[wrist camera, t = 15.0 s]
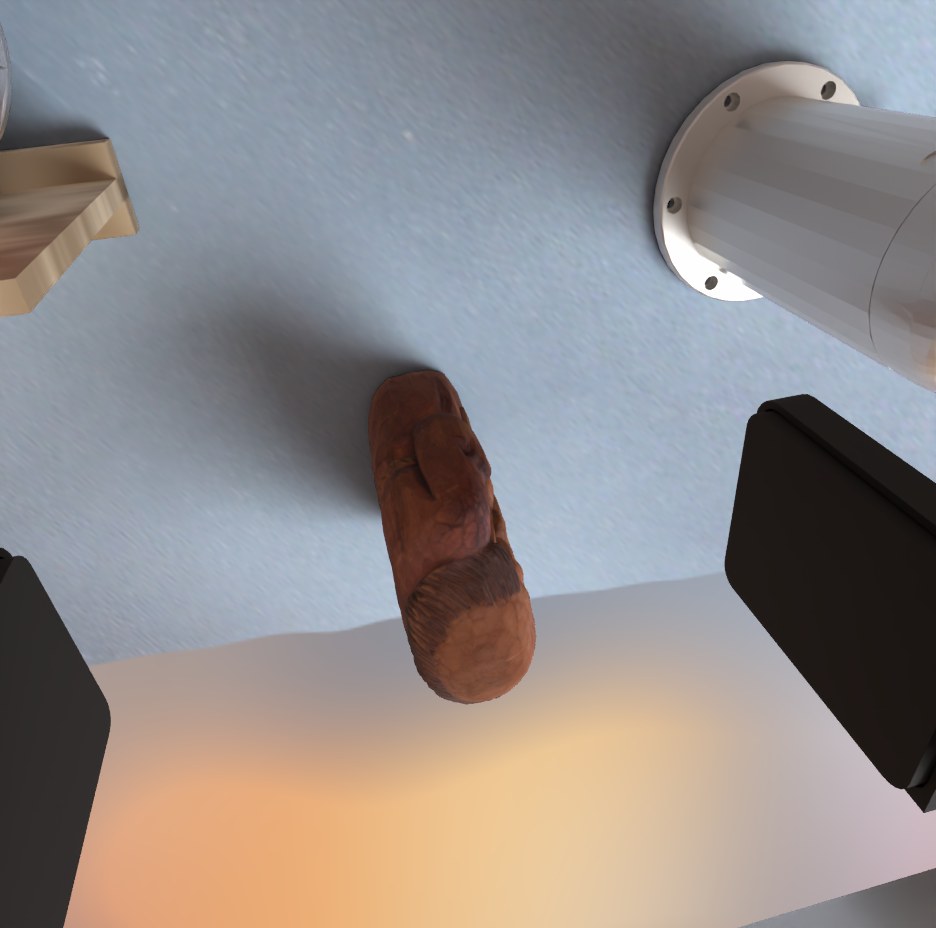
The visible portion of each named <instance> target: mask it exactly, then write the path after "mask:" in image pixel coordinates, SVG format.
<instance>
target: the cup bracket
mask: <svg viewBox="0 0 936 928" xmlns="http://www.w3.org/2000/svg"><path fill="white" fill-rule="evenodd" d="M11 93H12V80H11V64H10V59H9V54H8V49H7V43H6V39H5V36H4V33H3V29H2V26H1V23H0V141H1V138H2V136H3V134H4V131H5V129H6V125H7V121H8V116H9V112H10V106H11Z"/></svg>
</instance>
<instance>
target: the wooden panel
mask: <svg viewBox="0 0 936 928" xmlns="http://www.w3.org/2000/svg"><path fill="white" fill-rule="evenodd" d="M138 230H139V225H138V222H137V219H136V216H135V213H134V210H133V207H132V204H131V201H130V198H129V195H128V192H127V189H126V186H125V183H124V180H123V177H122V174H121V171H120V168H119V165H118V162H117V159H116V156H115V153H114V150H113V147H112V144H111V141H110V139H102V140H93V141H84V142H75V143H66V144H58V145H49V146H40V147H31V148H22V149H14V150H5V151H0V317H5V316H12V315H19V314H25V313H30V312H31V311H32V310H33V309H34V308H35V306H36V305H37V304H38V303H39V302H40V301H41V299H42V298H43V297H44V296H45V295H46V293H47V292H48V291H49V290H50V289H51V288H52V286H53V285H54V284H55V283H56V282H57V280H58V279H59V278H60V277H61V276H62V274H63V273H64V272H65V271H66V270H67V269H68V267H69V266H70V265H71V264H72V263H73V261H74V260H75V259H76V258H77V257H78V256H79V254H80V253H81V252H82V251H83V250H84V248H85V247H86V246H87V245H88V244H89V243H90V241H91V240H98V239H106V238H113V237H121V236H128V235H135V234H136V233H137V231H138Z"/></svg>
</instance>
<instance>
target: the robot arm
mask: <svg viewBox="0 0 936 928" xmlns="http://www.w3.org/2000/svg"><path fill="white" fill-rule="evenodd" d="M726 97H727V101H726V103H725V104H724V102H725V99H726ZM670 199H671V202H670V204H669V205H668V206H667V204H668V202H669V200H670ZM653 213H654V228H655V234H656V237H657V241H658V245H659V249H660V251H661V253H662V255H663V257H664V259H665V261H666V263H667V265H668V267H669V268H670V269H671V270H672V271H673V272H674V274H675V275H676V276H677V277H678V278H679V279H680V280H681V281H683V282H684V283H685V284H687V285H688V286H689V287H691V288H692V289H694V290H695V291H697V292H699V293H700V294H702V295H704V296H707V297H710V298H714V299H718V300H721V301H746V300H752V299H758V298H761V297H765V298H766V299H768V300H770V301H771V302H773V303H775V304H777V305H778V306H780V307H782V308H784V309H785V310H787V311H789V312H791V313H792V314H794V315H796V316H797V317H799V318H801V319H803V320H804V321H806V322H808V323H810V324H811V325H813V326H815V327H817V328H818V329H820V330H822V331H823V332H825V333H827V334H829V335H830V336H832V337H834V338H836V339H837V340H839V341H841V342H843V343H844V344H846V345H848V346H849V347H851V348H853V349H855V350H856V351H858V352H860V353H862V354H863V355H865V356H867V357H868V358H870V359H872V360H874V361H876V362H877V363H879V364H881V365H883V366H885V367H886V368H888V369H890V370H892V371H894V372H896V373H897V374H899V375H901V376H902V377H904V378H906V379H908V380H909V381H911V382H913V383H915V384H917V385H918V386H921V387H923V388H925V389H927V390H930V391H932V392H934V393H936V117H930V116H924V115H917V114H910V113H904V112H897V111H890V110H884V109H877V108H870V107H864V106H861V104H860V103H859V101H858V99H857V97H856V95H855V93H854V91H853V90H852V89H851V88H850V87H849V86H848V85H847V84H846V83H845V82H844V80H843V79H842V78H841V77H839V76H838V75H836V74H834V73H833V72H831V71H829V70H828V69H826V68H824V67H821V66H817V65H814V64H810V63H806V62H796V61H779V62H771V63H764V64H761V65H758V66H755V67H752V68H749V69H746V70H744V71H742V72H740V73H738V74H737V75H735V76H733V77H731V78H730V79H728V80H726V81H725V82H723V83H722V84H720V85H719V86H718V87H717V88H716V89H714V90H713V91H712V92H711V93H710V94H708V95H707V96H706V97H705V98H704V99H703V100H702V101H701V102H700V103H699V104H698V105H697V107H696V108H695V109H694V110H693V111H692V112H691V113H690V115H689V116H688V117H687V118H686V119H685V121H684V123H683V124H682V126H681V127H680V129H679V130H678V132H677V134H676V135H675V137H674V138H673V140H672V142H671V144H670V147H669V149H668V151H667V153H666V156H665V158H664V160H663V162H662V165H661V169H660V173H659V176H658V180H657V184H656V189H655V198H654V207H653ZM725 572H726V576H727V579H728V581H729V583H730V585H731V586H732V588H733V589H734V590H735V592H736V593H737V594H738V595H739V597H740V598H741V599H742V600H743V602H744V603H745V604H746V605H747V607H748V608H749V609H750V610H751V612H752V613H753V614H754V615H755V617H756V618H757V619H758V620H759V622H760V623H761V624H762V625H763V627H764V628H765V629H766V630H767V632H768V633H769V634H770V636H771V637H772V638H773V639H774V641H775V642H776V643H777V644H778V646H779V647H780V648H781V649H782V651H783V652H784V653H785V654H786V656H788V658H789V659H790V661H791V662H792V663H793V664H794V666H795V667H796V668H797V669H798V671H799V672H800V673H801V674H802V676H803V677H804V678H805V679H806V681H807V682H808V683H809V684H810V686H811V687H812V688H813V689H814V691H815V692H816V693H817V694H818V695H819V697H820V698H821V699H822V701H823V702H824V703H825V704H826V706H827V707H828V708H829V709H830V711H831V712H832V713H833V714H834V716H835V717H836V718H837V720H838V721H839V722H840V723H841V724H842V726H843V727H844V728H845V729H846V731H847V732H848V733H849V734H850V736H851V737H852V738H853V740H854V741H855V742H856V743H857V744H858V746H859V747H860V748H861V750H862V751H863V752H864V753H865V755H866V756H867V757H868V758H869V760H870V761H871V762H872V763H873V765H874V766H875V767H876V768H877V770H878V771H879V772H880V773H881V775H882V776H883V777H884V778H885V779H886V780H887V781H888V782H889V783H890V784H891V785H893V786H894V787H896V788H899V789H905V790H906V791H907V793H908V794H909V795H910V797H911V798H912V799H913V800H914V802H916V804H917V805H918V806H919V807H920V809H921V810H922V811H923V813H926V812H929V811H933V810H936V483H935V482H933V481H932V480H930V479H929V478H927V477H926V476H925V475H923V474H922V473H920V472H919V471H918V470H916V469H915V468H913V467H912V466H911V465H909V464H908V463H906V462H905V461H903V460H902V459H901V458H899V457H898V456H896V455H895V454H894V453H892V452H891V451H889V450H888V449H886V448H885V447H884V446H882V445H881V444H879V443H878V442H877V441H875V440H874V439H872V438H871V437H869V436H868V435H867V434H865V433H864V432H862V431H861V430H860V429H858V428H857V427H855V426H854V425H853V424H851V423H850V422H848V421H847V420H845V419H844V418H843V417H841V416H840V415H838V414H837V413H836V412H834V411H833V410H831V409H830V408H828V407H827V406H826V405H824V404H823V403H821V402H820V401H819V400H817V399H816V398H814V397H812V396H810V395H808V394H801V395H796V396H791V397H785V398H780V399H775V400H770V401H766V402H764V403H762V404H761V406H760V407H759V409H758V411H757V414H754V415H752V416H751V417H750V419H749V420H748V423H747V428H746V434H745V440H744V446H743V452H742V458H741V464H740V471H739V477H738V483H737V489H736V495H735V501H734V507H733V513H732V520H731V526H730V532H729V538H728V544H727V550H726V556H725ZM110 722H111V717H110V710H109V706H108V703H107V701H106V699H105V697H104V695H103V693H102V691H101V689H100V688H99V686H98V684H97V682H96V681H95V679H94V677H93V675H92V673H91V672H90V670H89V668H88V666H87V664H86V663H85V661H84V659H83V657H82V655H81V654H80V652H79V650H78V648H77V646H76V645H75V643H74V641H73V639H72V637H71V636H70V634H69V632H68V630H67V628H66V627H65V625H64V623H63V621H62V620H61V618H60V616H59V614H58V612H57V611H56V609H55V607H54V605H53V603H52V602H51V600H50V598H49V596H48V594H47V593H46V591H45V589H44V587H43V585H42V584H41V582H40V580H39V578H38V577H37V575H36V573H35V571H34V569H33V568H32V566H31V564H30V563H29V561H28V560H27V559H26V558H24V557H23V556H14V557H12V556H11V554H10V553H9V552H8V551H6V550H5V549H4V548H0V928H63V926H64V922H65V918H66V914H67V910H68V905H69V901H70V897H71V892H72V888H73V884H74V880H75V876H76V871H77V867H78V863H79V858H80V855H81V850H82V846H83V842H84V838H85V834H86V829H87V825H88V821H89V817H90V812H91V808H92V804H93V800H94V796H95V791H96V787H97V783H98V779H99V774H100V770H101V766H102V762H103V757H104V753H105V749H106V745H107V741H108V737H109V732H110V724H111V723H110ZM739 928H936V868H935V869H931V870H928V871H925V872H922V873H918V874H915V875H911V876H908V877H905V878H902V879H898V880H895V881H892V882H888V883H885V884H882V885H878V886H875V887H871V888H869V889H865V890H862V891H859V892H855V893H852V894H848V895H845V896H842V897H838V898H835V899H832V900H828V901H825V902H822V903H818V904H815V905H812V906H808V907H805V908H802V909H799V910H795V911H792V912H789V913H785V914H782V915H779V916H776V917H772V918H769V919H765V920H762V921H759V922H756V923H752V924H749V925H746V926H742V927H739Z"/></svg>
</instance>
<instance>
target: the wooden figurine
mask: <svg viewBox="0 0 936 928" xmlns="http://www.w3.org/2000/svg"><path fill="white" fill-rule="evenodd" d="M368 429H369V443H370V449H371V458H372V470H373V474H374V481H375V486H376V490H377V496H378V501H379V506H380V509H381V515H382V525H383V532H384V537H385V541H386V546H387V551H388V555H389V559H390V562H391V566H392V571H393V576H394V582H395V589H396V595H397V599H398V604H399V607H400V610H401V615H402V620H403V624H404V628H405V631H406V633H407V636H408V642H409V645H410V647H411V652H412V654H413V655H414V663H415V665H416V667H417V671H418V673H419V674H420V676H421V677H422V678H423V680H424V681H425V682H427V684H428V686H429V688H431V689H432V690H434V691H435V693H436V694H437V695H438V696H439V697H441V698H444V699H446V700H451V701H453V702H459V703H463V704H473V703H479V702H484V701H489V700H492V699H494V698H498V697H500V696H501V695H503V694H505V693H507V692H508V691H510V690H511V689H512V688H513V687H514V686H515V685H516V684H518V683H519V682H520V680H521V679H522V678H523V676H524V675H525V674H526V672H527V671H528V668H529V666H530V664H531V660H532V657H533V653H534V649H535V642H536V631H535V622H534V618H533V614H532V608H531V603H530V597H529V594H528V592H527V590H526V588H525V586H524V582H523V571H522V568H521V566H520V565H519V563H518V562H517V561H516V560H515V558H514V555H513V551H512V549H511V547H510V544H509V541H508V539H507V533H506V526H505V521H504V519H503V517H502V514H501V511H500V508H499V505H498V502H497V499H496V497H495V495H494V493H493V485H492V482H491V479H490V475H491V467H490V464H489V462H488V460H487V458H486V455H485V453H484V451H483V449H482V447H481V445H480V443H479V441H478V439H477V437H476V435H475V434H474V432H473V431H472V429H471V426H470V422H469V418H468V416H467V414H466V412H465V410H464V408H463V407H462V404H461V401H460V399H459V396H458V393H457V391H456V390H455V388H454V387H453V386H452V384H451V383H450V381H449V380H448V379H447V378H446V376H445V374H443V373H440V372H435V371H431V370H425V371H419V372H410V373H406V374H404V375H400V376H396V377H390V378H388V379H387V380H385V381H384V382H383V384H382V385H381V386H380V387H379V388H378V389H377V391H376V392H375V394H374V396H373V398H372V403H371V408H370V413H369V422H368Z"/></svg>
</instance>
